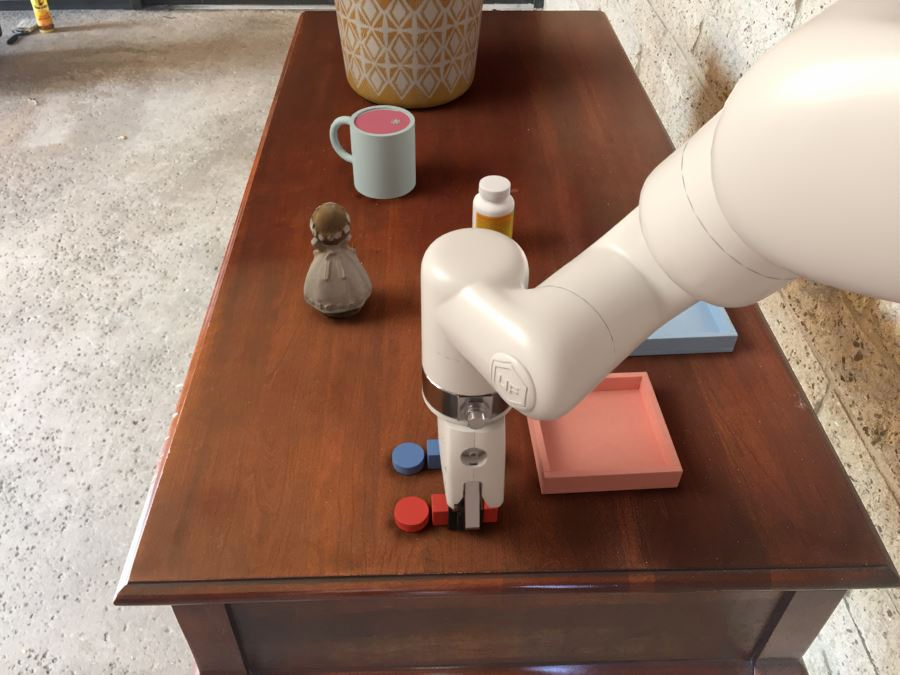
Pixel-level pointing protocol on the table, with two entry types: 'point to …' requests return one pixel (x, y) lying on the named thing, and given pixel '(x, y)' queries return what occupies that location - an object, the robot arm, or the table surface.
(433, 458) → the blue spoon
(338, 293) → the figurine
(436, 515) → the red spoon
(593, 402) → the red tray
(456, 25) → the planter
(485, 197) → the supplement bottle
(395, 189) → the mug
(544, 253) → the table surface
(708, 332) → the blue tray
